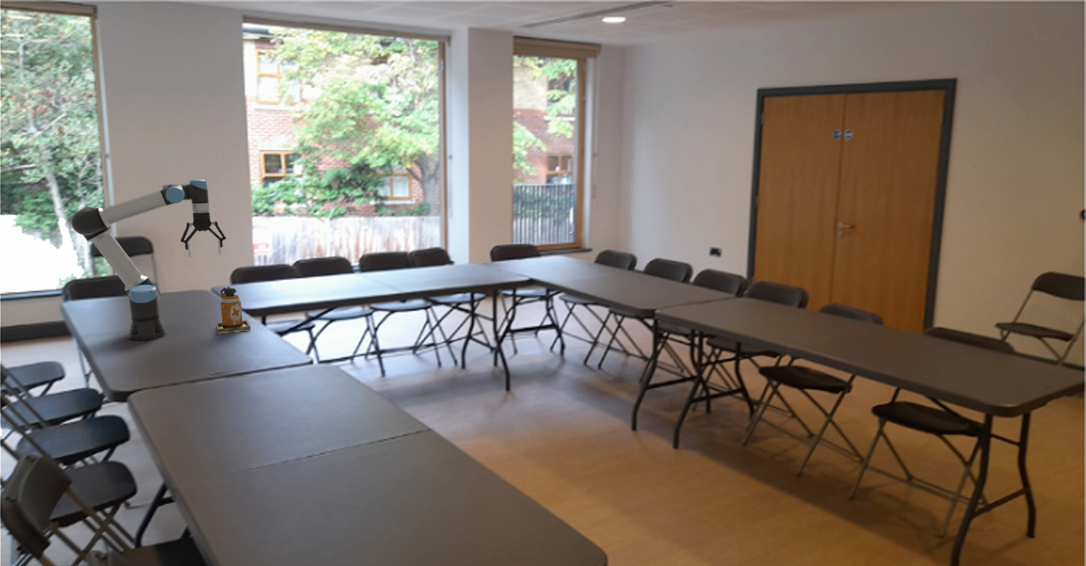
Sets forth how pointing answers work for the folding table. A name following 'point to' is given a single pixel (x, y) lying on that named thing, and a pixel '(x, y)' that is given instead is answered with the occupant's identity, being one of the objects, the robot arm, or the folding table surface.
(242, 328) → the wooden tray
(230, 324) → the canister
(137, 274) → the robot arm
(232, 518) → the folding table surface
